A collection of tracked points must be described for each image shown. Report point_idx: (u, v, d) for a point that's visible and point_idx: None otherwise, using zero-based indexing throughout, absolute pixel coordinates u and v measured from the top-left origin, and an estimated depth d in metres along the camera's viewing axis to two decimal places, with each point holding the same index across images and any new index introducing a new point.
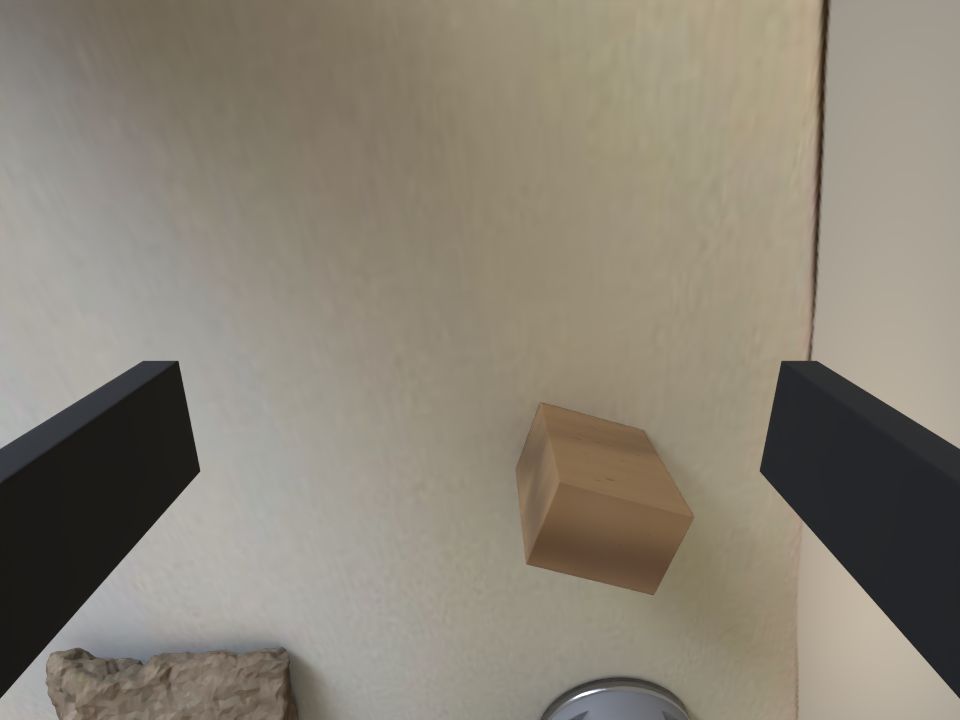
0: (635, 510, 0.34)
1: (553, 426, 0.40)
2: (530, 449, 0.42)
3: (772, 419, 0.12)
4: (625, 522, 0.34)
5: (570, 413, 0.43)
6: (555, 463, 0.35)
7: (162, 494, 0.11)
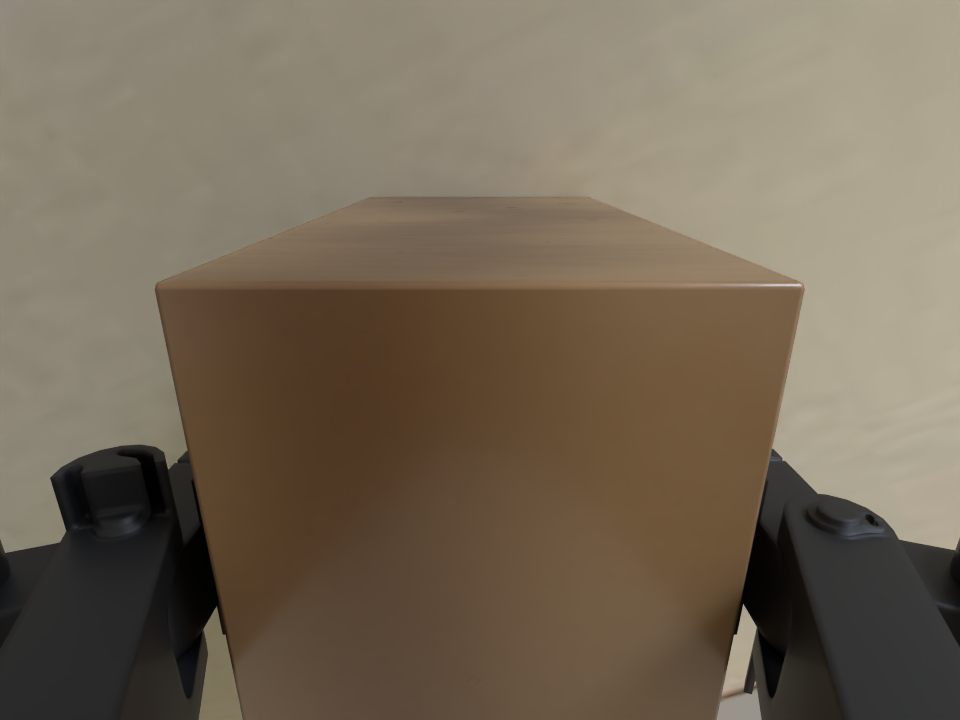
0: (682, 673, 0.07)
1: None
2: (486, 203, 0.14)
3: None
4: (603, 660, 0.07)
5: None
6: (719, 250, 0.07)
7: None
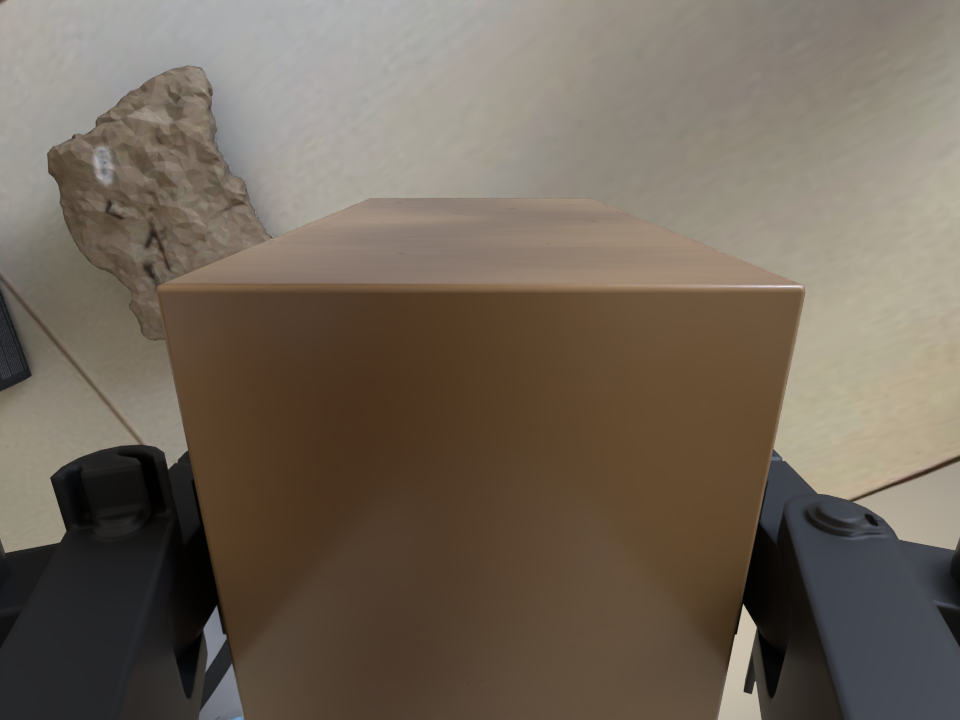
0: (682, 676, 0.07)
1: None
2: (486, 205, 0.14)
3: None
4: (603, 663, 0.07)
5: None
6: (720, 252, 0.07)
7: None
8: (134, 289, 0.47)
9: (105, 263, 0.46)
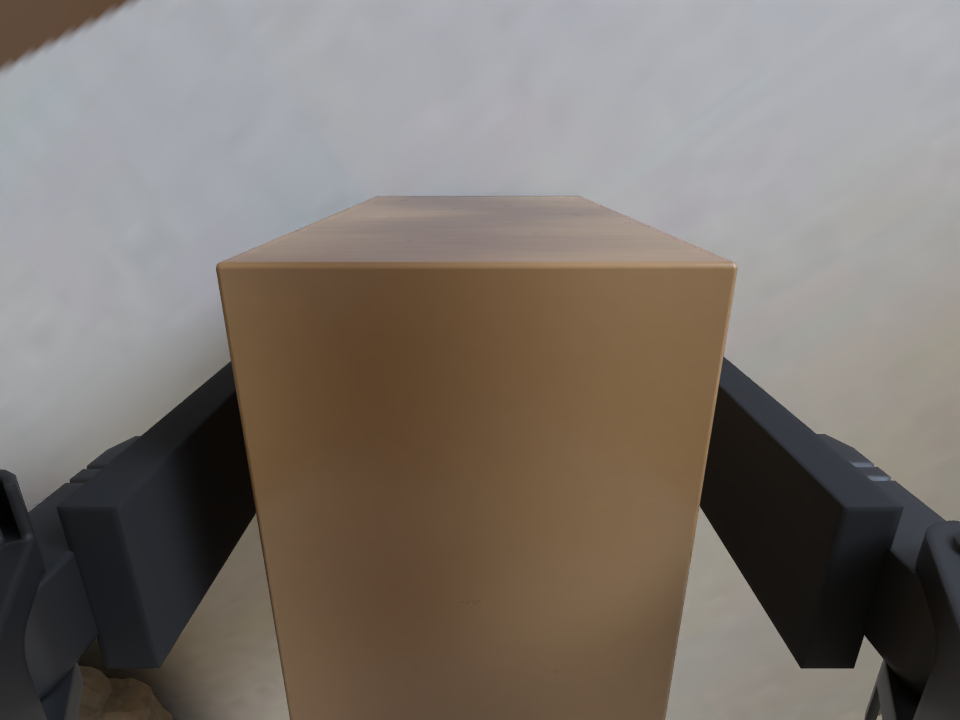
0: (647, 596, 0.08)
1: None
2: (484, 202, 0.15)
3: None
4: (580, 585, 0.08)
5: None
6: (680, 240, 0.09)
7: None
8: None
9: None
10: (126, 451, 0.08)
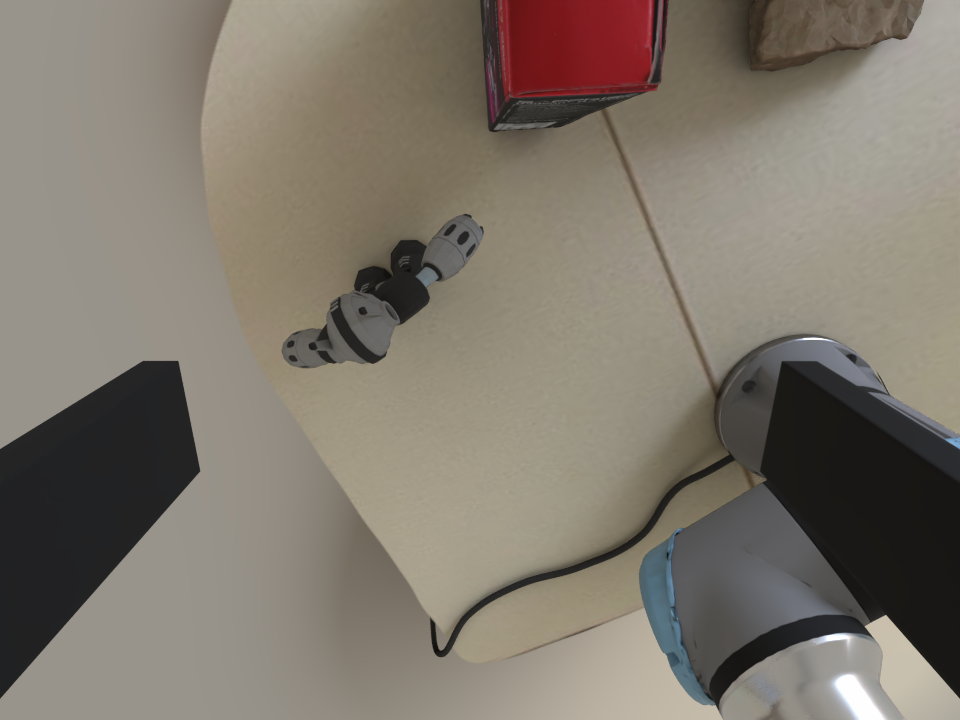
0: None
1: None
2: None
3: (772, 419, 0.12)
4: None
5: None
6: None
7: (162, 494, 0.11)
8: None
9: None
10: None
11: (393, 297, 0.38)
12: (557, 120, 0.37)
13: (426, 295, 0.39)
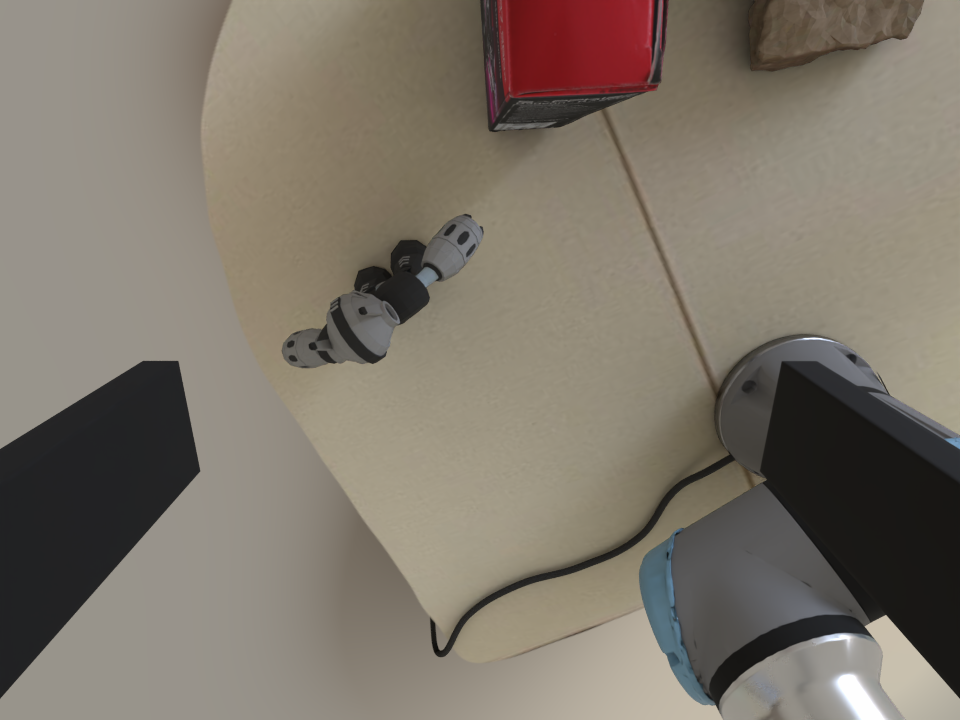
0: None
1: None
2: None
3: (772, 419, 0.12)
4: None
5: None
6: None
7: (162, 494, 0.11)
8: None
9: None
10: None
11: (393, 297, 0.38)
12: (557, 120, 0.37)
13: (426, 295, 0.39)
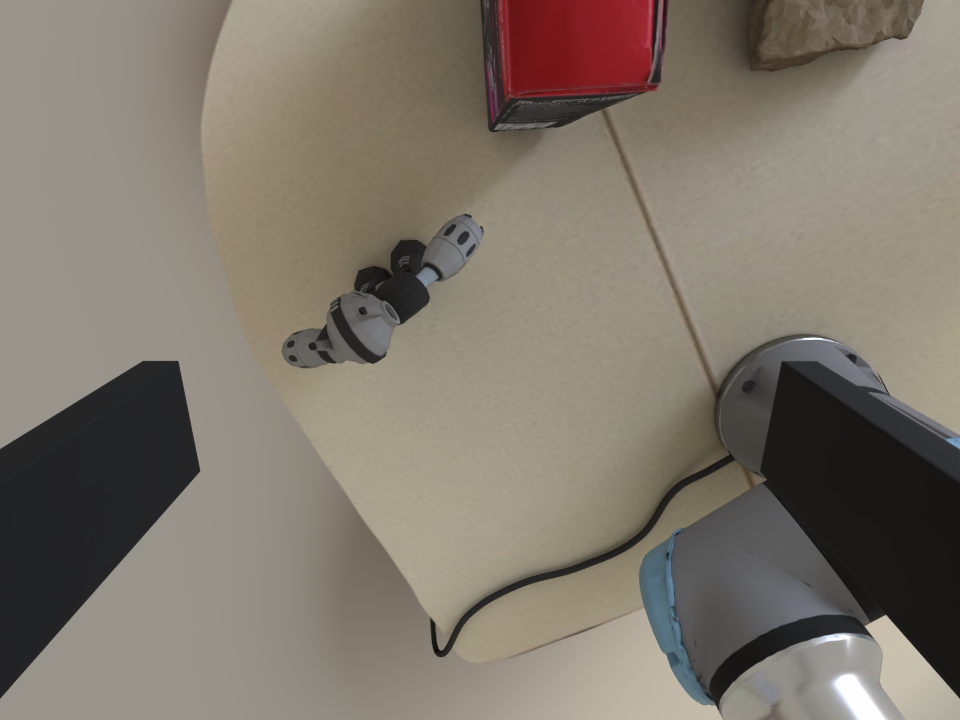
0: None
1: None
2: None
3: (772, 419, 0.12)
4: None
5: None
6: None
7: (162, 494, 0.11)
8: None
9: None
10: None
11: (393, 297, 0.38)
12: (557, 120, 0.37)
13: (426, 295, 0.39)
